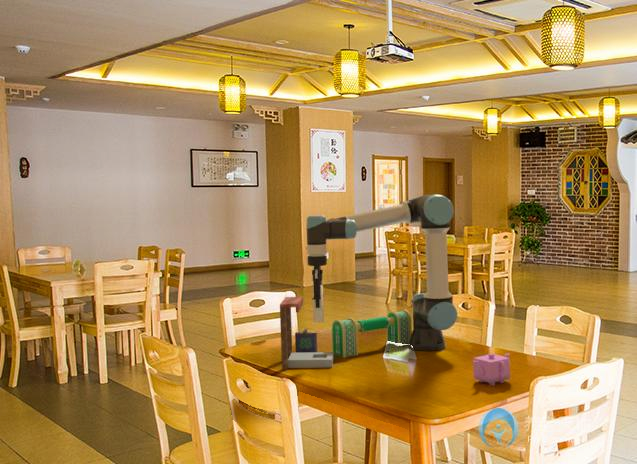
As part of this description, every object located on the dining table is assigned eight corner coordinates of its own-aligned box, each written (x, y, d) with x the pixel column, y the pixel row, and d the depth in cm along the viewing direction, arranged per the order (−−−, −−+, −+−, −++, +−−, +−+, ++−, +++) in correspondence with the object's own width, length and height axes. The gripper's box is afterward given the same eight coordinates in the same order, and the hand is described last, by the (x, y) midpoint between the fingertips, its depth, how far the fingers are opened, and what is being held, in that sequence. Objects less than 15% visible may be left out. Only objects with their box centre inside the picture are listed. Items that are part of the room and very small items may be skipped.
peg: (324, 320, 266) (323, 284, 265) (323, 322, 262) (322, 286, 261) (313, 320, 266) (313, 285, 265) (313, 322, 262) (312, 286, 261)
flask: (317, 352, 283) (316, 327, 283) (317, 354, 280) (316, 328, 280) (295, 352, 284) (294, 327, 283) (295, 354, 281) (294, 329, 280)
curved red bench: (304, 358, 274) (302, 296, 273) (300, 369, 256) (298, 304, 255) (287, 358, 275) (285, 296, 273) (282, 369, 257) (279, 304, 255)
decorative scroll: (343, 358, 273) (342, 321, 272) (332, 354, 280) (331, 318, 279) (412, 345, 292) (411, 310, 291) (399, 341, 299) (399, 308, 298)
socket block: (333, 359, 270) (333, 352, 270) (332, 367, 258) (331, 359, 258) (291, 360, 272) (291, 352, 271) (288, 367, 260) (287, 360, 260)
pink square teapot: (494, 373, 244) (493, 346, 243) (523, 381, 233) (522, 353, 232) (457, 381, 234) (457, 354, 233) (486, 390, 223) (485, 361, 222)
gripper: (309, 253, 271) (310, 311, 272) (305, 257, 254) (306, 318, 255) (327, 253, 270) (329, 310, 272) (325, 257, 253) (326, 318, 255)
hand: (318, 314), depth 264 cm, fingers closed on peg, 4 cm apart
